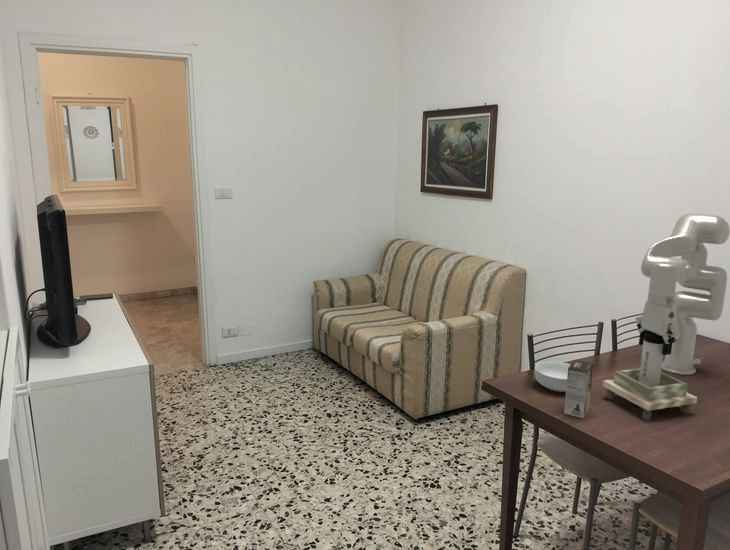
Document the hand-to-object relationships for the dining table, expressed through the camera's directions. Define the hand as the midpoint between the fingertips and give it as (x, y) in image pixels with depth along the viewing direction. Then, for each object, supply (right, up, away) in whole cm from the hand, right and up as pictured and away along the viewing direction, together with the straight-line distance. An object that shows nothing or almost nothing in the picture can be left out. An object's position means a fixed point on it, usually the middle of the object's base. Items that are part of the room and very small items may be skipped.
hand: (654, 349), depth 184 cm
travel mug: (-1, -14, +3) cm, 14 cm away
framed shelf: (-1, -19, +4) cm, 20 cm away
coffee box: (-26, -20, -1) cm, 33 cm away
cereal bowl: (-26, -16, +17) cm, 35 cm away
